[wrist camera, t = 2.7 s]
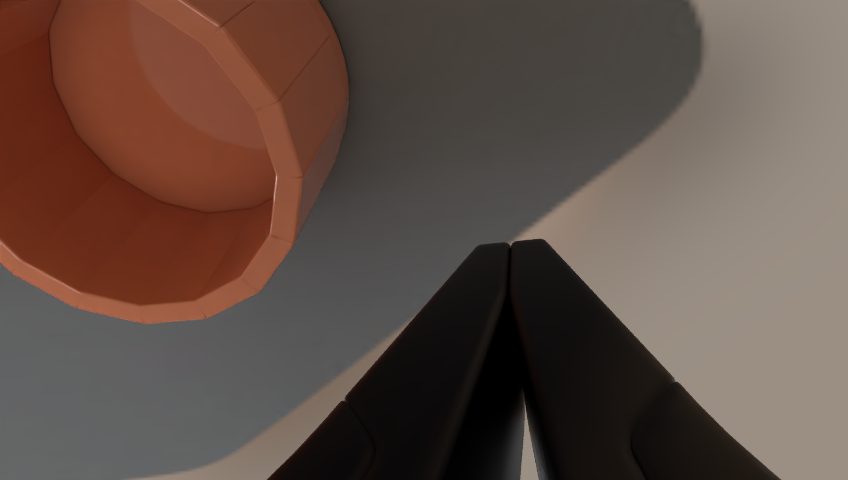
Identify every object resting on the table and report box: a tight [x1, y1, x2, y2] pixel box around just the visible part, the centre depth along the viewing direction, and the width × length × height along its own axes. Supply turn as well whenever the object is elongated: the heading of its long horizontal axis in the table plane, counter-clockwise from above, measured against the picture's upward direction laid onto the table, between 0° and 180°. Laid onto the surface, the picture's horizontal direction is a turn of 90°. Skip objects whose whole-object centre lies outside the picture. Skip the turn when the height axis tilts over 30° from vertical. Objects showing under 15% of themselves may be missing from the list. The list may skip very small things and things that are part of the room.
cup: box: [0, 0, 349, 324], centre depth 17 cm, size 9×9×6 cm
